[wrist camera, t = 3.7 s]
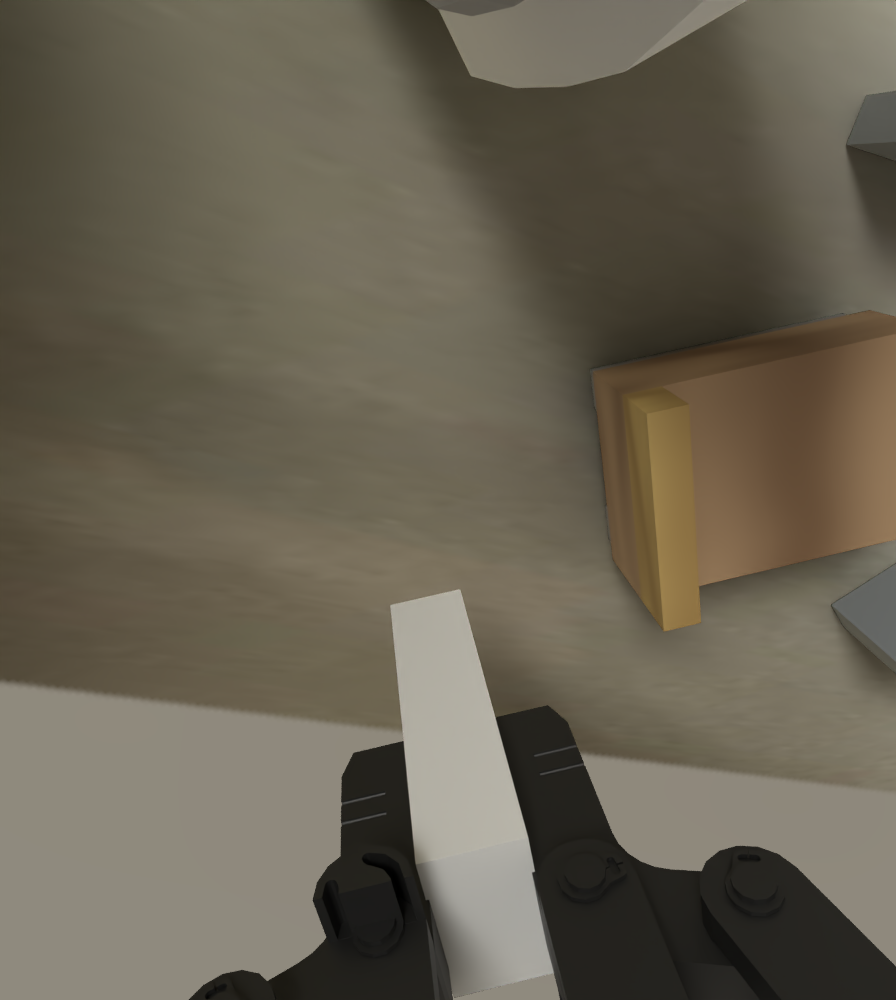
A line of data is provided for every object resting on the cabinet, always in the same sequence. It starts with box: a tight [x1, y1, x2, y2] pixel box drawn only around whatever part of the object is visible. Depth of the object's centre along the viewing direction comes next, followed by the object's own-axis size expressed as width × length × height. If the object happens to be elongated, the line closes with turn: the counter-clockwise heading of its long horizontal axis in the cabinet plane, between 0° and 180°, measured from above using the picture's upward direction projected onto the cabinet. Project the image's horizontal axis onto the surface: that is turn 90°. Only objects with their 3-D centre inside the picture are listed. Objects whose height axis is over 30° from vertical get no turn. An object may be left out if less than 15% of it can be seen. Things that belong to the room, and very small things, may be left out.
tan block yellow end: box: [590, 310, 896, 631], centre depth 21 cm, size 8×6×5 cm
